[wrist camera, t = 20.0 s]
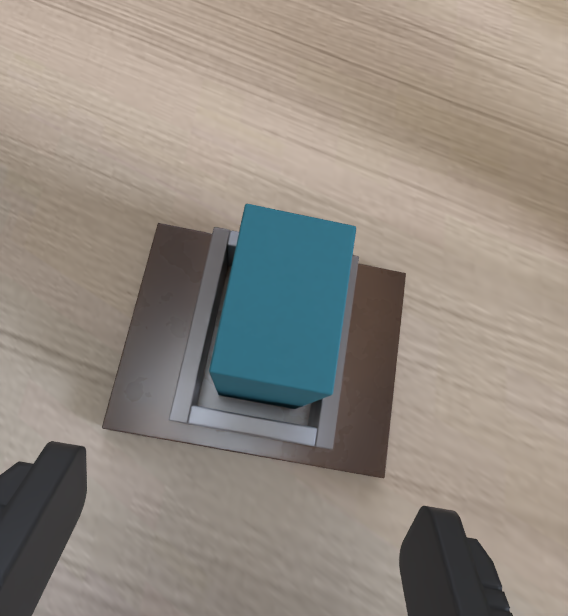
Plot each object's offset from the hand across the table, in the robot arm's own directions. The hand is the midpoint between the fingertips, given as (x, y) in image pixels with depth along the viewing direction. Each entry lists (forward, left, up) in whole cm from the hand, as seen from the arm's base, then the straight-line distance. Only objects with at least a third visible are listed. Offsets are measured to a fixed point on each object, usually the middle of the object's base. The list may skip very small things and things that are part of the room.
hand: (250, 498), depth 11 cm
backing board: (+5, +3, -13) cm, 14 cm away
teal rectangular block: (+5, +3, -12) cm, 13 cm away
